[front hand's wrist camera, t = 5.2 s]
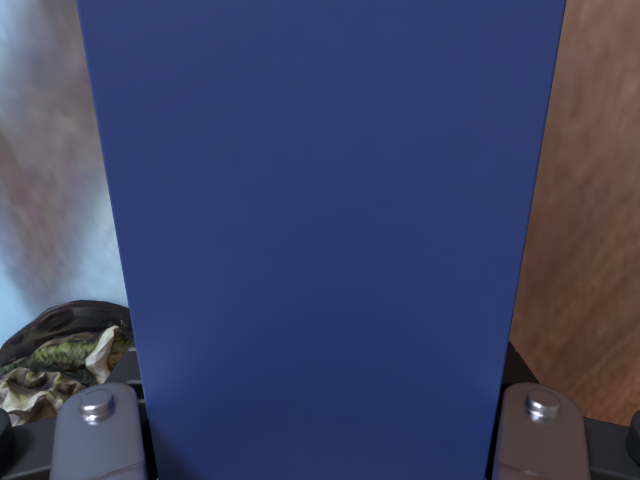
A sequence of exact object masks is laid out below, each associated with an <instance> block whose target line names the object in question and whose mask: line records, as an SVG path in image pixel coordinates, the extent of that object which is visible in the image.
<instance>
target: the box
mask: <svg viewBox="0 0 640 480" xmlns="http://www.w3.org/2000/svg"><path fill="white" fill-rule="evenodd" d="M76 2H77V7H78V13H79V19H80V25H81V31H82V37H83V42H84V48H85V54H86V60H87V66H88V72H89V77H90V83H91V89H92V95H93V101H94V107H95V113H96V118H97V124H98V130H99V136H100V142H101V148H102V153H103V159H104V165H105V171H106V177H107V183H108V188H109V194H110V200H111V206H112V212H113V218H114V223H115V229H116V235H117V241H118V247H119V253H120V259H121V264H122V270H123V276H124V282H125V288H126V294H127V299H128V305H129V311H130V317H131V323H132V329H133V334H134V340H135V346H136V352H137V358H138V364H139V370H140V375H141V381H142V387H143V393H144V399H145V405H146V410H147V416H148V422H149V428H150V434H151V440H152V445H153V451H154V457H155V463H156V469H157V475H158V480H485V476H486V470H487V464H488V458H489V452H490V446H491V440H492V434H493V429H494V423H495V417H496V411H497V405H498V399H499V393H500V387H501V382H502V376H503V370H504V364H505V358H506V352H507V346H508V340H509V335H510V329H511V323H512V317H513V311H514V305H515V299H516V294H517V288H518V282H519V276H520V270H521V264H522V258H523V252H524V247H525V241H526V235H527V229H528V223H529V217H530V211H531V205H532V200H533V194H534V188H535V182H536V176H537V170H538V164H539V158H540V153H541V147H542V141H543V135H544V129H545V123H546V117H547V111H548V106H549V100H550V94H551V88H552V82H553V76H554V70H555V64H556V59H557V53H558V47H559V41H560V35H561V29H562V23H563V17H564V12H565V6H566V0H76Z"/></svg>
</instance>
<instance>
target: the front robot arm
mask: <svg viewBox="0 0 640 480" xmlns="http://www.w3.org/2000/svg"><path fill="white" fill-rule="evenodd" d="M157 478H158V475H157V469H156V463H155V457H154V451H153V445H152V440H151V434H150V428H149V422H148V416H147V410H146V405H145V399H144V393H143V387H142V381H141V375H140V370H139V364H138V358H137V352H136V346H135V341H132V343H131V344H130V346H129V347H128V350H127V351H125V353H124V354H123V356H122V357H121V359H120V360H119V361H118V363H117V364H116V366H115V367H114V369H113V370H112V371H111V373H110V374H109V376H108V377H107V379H106V380H105V381H104V383H102V384H98V385H94V386H91V387H88V388H86V389H84V390H82V391H80V392H78V393H76V394H75V395H73V396H72V397H70V398H69V399H68V400H67V401H66V402H65V403H64V404H63V405H62V406H61V408H60V409H59V411H58V414H57V417H53V418H49V419H45V420H40V421H36V422H31V423H27V424H22V425H18V426H13V427H12V423H11V420H10V417H9V414H8V412H7V411H5V410H4V409H2V408H0V480H157ZM485 478H486V480H640V410H639V411H637V412H636V413H634V415H633V417H632V420H631V424H630V427H626V426H622V425H617V424H613V423H608V422H603V421H599V420H594V419H591V418H587V417H584V416H583V414H582V411H581V409H580V408H579V406H578V405H577V404H576V403H575V402H574V401H573V400H572V399H571V398H570V397H568V396H567V395H565V394H564V393H562V392H560V391H558V390H556V389H554V388H552V387H549V386H546V385H542V384H540V383H539V382H538V380H537V379H536V378H535V376H534V375H533V373H532V372H531V370H530V369H529V368H528V366H527V365H526V363H525V362H524V361H523V359H522V358H521V356H520V355H519V353H518V352H516V351H515V348H514V346H513V345H512V344H511V342H510V341H508V346H507V352H506V358H505V364H504V370H503V376H502V382H501V387H500V393H499V399H498V405H497V411H496V417H495V423H494V429H493V434H492V440H491V446H490V452H489V458H488V464H487V470H486V476H485Z"/></svg>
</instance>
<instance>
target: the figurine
mask: <svg viewBox="0 0 640 480" xmlns="http://www.w3.org/2000/svg"><path fill="white" fill-rule="evenodd" d="M132 341H135V340H134V334H133V329H132V323H131V317H130V311H129V308H126V307H123V306H121V305H118V304H113V303H109V302H104V301H91V300H78V301H73V302H69V303H66V304H62V305H59V306H55V307H52V308H49V309H47V310H46V311H45V312H43V313H42V314H41V315H39V316H38V317H37V318H36V319H35V320H34V321H32V322H31V323H29V324H28V325H26V326H25V327H24V328H22V329H21V330H20V331H18V332H17V333H16V334H15V335H13V336H12V337H11V338H10V339H8V340H7V341H6V342H5V343H4V344H3V346H2V347H1V349H0V408H2V409H4V410H5V411H7V412H8V414H9V417H10V420H11V423H12V427H13V426H18V425H22V424H27V423H31V422H36V421H40V420H45V419H49V418H53V417H57V414H58V411H59V409H60V408H61V406H62V405H63V404H64V403H65V402H66V401H67V400H68V399H69V398H70V397H72V396H73V395H75V394H76V393H78V392H80V391H82V390H84V389H86V388H88V387H91V386H94V385H98V384H102V383H104V381H105V380H106V379H107V377H108V376H109V374H110V373H111V371H112V370H113V369H114V367H115V366H116V364H117V363H118V361H119V360H120V359H121V357H122V356H123V354H124V353H125V351H127V350H128V347H129V346H130V344H131V343H132Z"/></svg>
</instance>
